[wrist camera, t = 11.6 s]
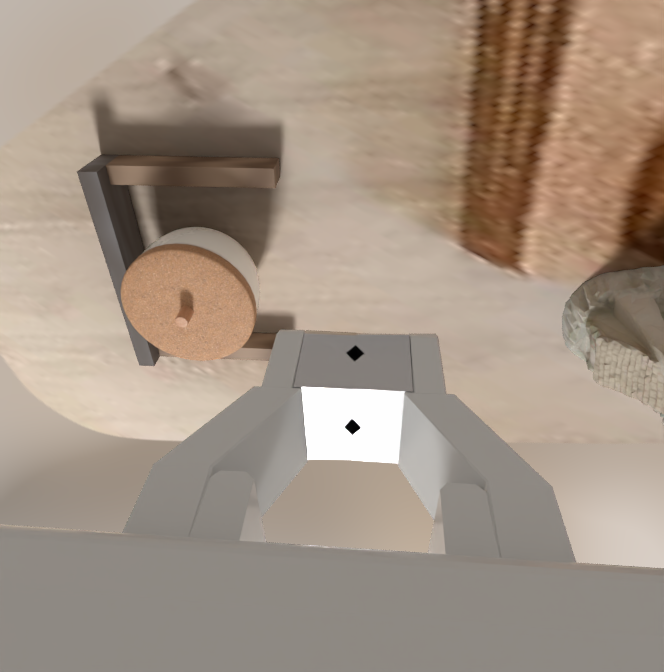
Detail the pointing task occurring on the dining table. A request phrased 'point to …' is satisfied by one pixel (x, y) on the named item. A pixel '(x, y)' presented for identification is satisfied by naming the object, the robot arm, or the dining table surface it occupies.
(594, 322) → the ceramic cottage
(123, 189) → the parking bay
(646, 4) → the dining table surface
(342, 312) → the dining table surface
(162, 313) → the lidded jar
